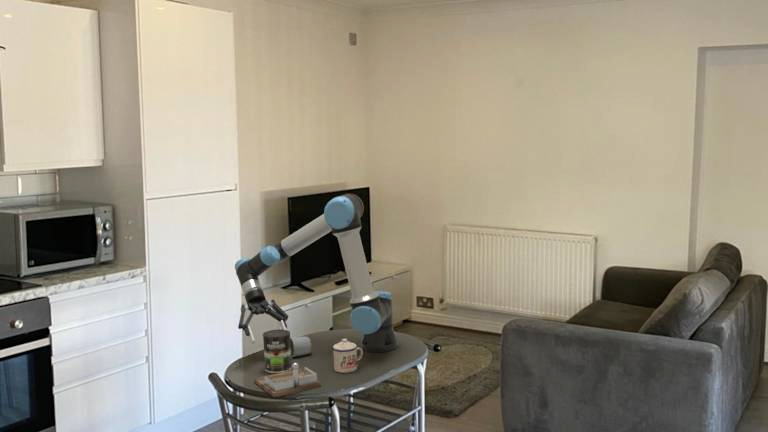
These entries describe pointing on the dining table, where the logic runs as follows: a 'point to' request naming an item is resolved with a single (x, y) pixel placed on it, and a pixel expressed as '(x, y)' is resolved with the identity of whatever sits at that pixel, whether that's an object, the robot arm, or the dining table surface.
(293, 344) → the ceramic mug
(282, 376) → the board
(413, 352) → the dining table surface
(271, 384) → the keeper cradle
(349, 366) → the teacup with lid
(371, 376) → the dining table surface
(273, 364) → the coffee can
